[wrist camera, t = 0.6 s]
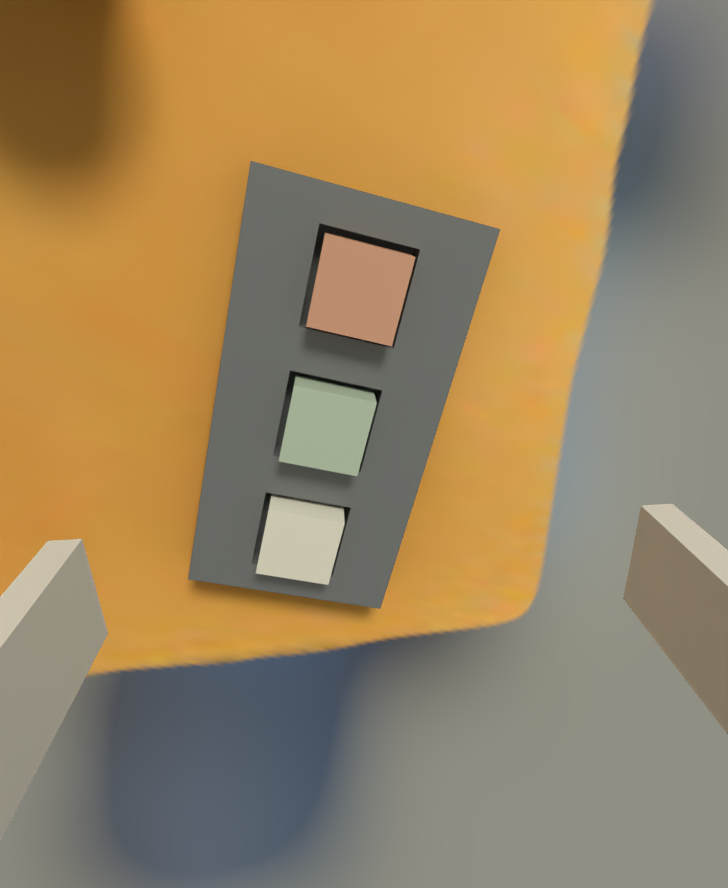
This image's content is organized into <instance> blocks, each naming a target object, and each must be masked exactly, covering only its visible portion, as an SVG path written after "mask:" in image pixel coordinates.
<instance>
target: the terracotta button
mask: <svg viewBox="0 0 728 888" xmlns="http://www.w3.org/2000/svg"><path fill="white" fill-rule="evenodd" d="M415 258H416V257H414V256H412V255H410V254H407V253H403V252H399V251H396V250H392V249H388V248H384V247H380V246H376V245H372V244H369V243H365V242H361V241H357V240H353V239H349V238H345V237H342V236H338V235H334V234H330V233H326V232H325V235H324V239H323V244H322V249H321V254H320V259H319V264H318V269H317V274H316V279H315V284H314V288H313V293H312V298H311V303H310V308H309V313H308V318H307V324H306V327H310V328H315V329H319V330H323V331H328V332H332V333H336V334H341V335H345V336H349V337H354V338H358V339H362V340H367V341H371V342H375V343H380V344H384V345H388V346H392V344H393V340H394V336H395V333H396V329H397V325H398V321H399V318H400V314H401V310H402V306H403V303H404V299H405V295H406V291H407V288H408V284H409V280H410V276H411V273H412V269H413V265H414V261H415Z"/></svg>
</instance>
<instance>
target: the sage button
mask: <svg viewBox="0 0 728 888" xmlns="http://www.w3.org/2000/svg"><path fill="white" fill-rule="evenodd" d="M376 404H377V402H376V398H375V395H374V392H373V391H368V390H363V389H359V388H354V387H349V386H345V385H340V384H336V383H331V382H326V381H322V380H317V379H313V378H308V377H303V376H299V375H296V377H295V382H294V387H293V391H292V396H291V401H290V406H289V411H288V416H287V421H286V426H285V431H284V436H283V440H282V445H281V451H280V456H279V462H285V463H290V464H295V465H300V466H305V467H311V468H316V469H321V470H326V471H332V472H337V473H342V474H347V475H353V476H357V475H358V472H359V468H360V464H361V460H362V457H363V453H364V449H365V445H366V442H367V438H368V434H369V430H370V427H371V423H372V419H373V415H374V412H375V408H376Z"/></svg>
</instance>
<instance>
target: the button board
mask: <svg viewBox="0 0 728 888" xmlns="http://www.w3.org/2000/svg"><path fill="white" fill-rule="evenodd" d="M499 231H500V229H497V228H494V227H490V226H486V225H483V224H479V223H475V222H472V221H468V220H465V219H461V218H457V217H454V216H450V215H446V214H443V213H439V212H435V211H432V210H428V209H424V208H421V207H417V206H413V205H410V204H406V203H402V202H399V201H395V200H392V199H388V198H384V197H381V196H377V195H373V194H370V193H366V192H362V191H359V190H355V189H351V188H348V187H344V186H340V185H337V184H333V183H330V182H326V181H322V180H319V179H315V178H311V177H308V176H304V175H300V174H297V173H293V172H289V171H286V170H282V169H278V168H275V167H271V166H267V165H264V164H260V163H257V162H253V161H251V163H250V169H249V176H248V183H247V189H246V196H245V203H244V210H243V216H242V223H241V230H240V236H239V243H238V250H237V256H236V263H235V270H234V276H233V283H232V290H231V297H230V303H229V310H228V317H227V323H226V330H225V337H224V343H223V350H222V357H221V363H220V370H219V377H218V383H217V390H216V397H215V404H214V410H213V417H212V424H211V430H210V437H209V444H208V450H207V457H206V464H205V470H204V477H203V484H202V491H201V497H200V504H199V511H198V517H197V524H196V531H195V537H194V544H193V551H192V557H191V564H190V571H189V578H188V579H190V580H196V581H203V582H209V583H216V584H222V585H229V586H235V587H242V588H249V589H255V590H262V591H268V592H275V593H281V594H288V595H294V596H301V597H307V598H314V599H320V600H327V601H333V602H340V603H346V604H353V605H359V606H366V607H372V608H379V609H380V608H381V605H382V602H383V598H384V595H385V592H386V589H387V586H388V583H389V579H390V576H391V573H392V570H393V567H394V564H395V560H396V557H397V554H398V551H399V548H400V545H401V541H402V538H403V535H404V532H405V529H406V526H407V522H408V519H409V516H410V513H411V510H412V507H413V503H414V500H415V497H416V494H417V491H418V488H419V484H420V481H421V478H422V475H423V472H424V469H425V465H426V462H427V459H428V456H429V453H430V450H431V446H432V443H433V440H434V437H435V434H436V431H437V427H438V424H439V421H440V418H441V415H442V412H443V408H444V405H445V402H446V399H447V396H448V393H449V389H450V386H451V383H452V380H453V377H454V374H455V370H456V367H457V364H458V361H459V358H460V355H461V351H462V348H463V345H464V342H465V339H466V336H467V332H468V329H469V326H470V323H471V320H472V317H473V313H474V310H475V307H476V304H477V301H478V298H479V294H480V291H481V288H482V285H483V282H484V279H485V275H486V272H487V269H488V266H489V263H490V260H491V256H492V253H493V250H494V247H495V244H496V241H497V237H498V234H499ZM325 232H326V233H330V234H334V235H338V236H342V237H345V238H349V239H353V240H357V241H361V242H365V243H369V244H372V245H376V246H380V247H384V248H388V249H392V250H396V251H399V252H403V253H407V254H410V255H412V256H414V257H416V258H415V261H414V265H413V269H412V273H411V276H410V280H409V284H408V288H407V291H406V295H405V299H404V303H403V306H402V310H401V314H400V318H399V321H398V325H397V329H396V333H395V336H394V340H393V344H392V346H388V345H384V344H380V343H375V342H371V341H367V340H362V339H358V338H354V337H349V336H345V335H341V334H336V333H332V332H328V331H323V330H319V329H315V328H310V327H306V324H307V318H308V313H309V308H310V303H311V298H312V293H313V288H314V284H315V279H316V274H317V269H318V264H319V259H320V254H321V249H322V244H323V239H324V235H325ZM296 375H299V376H303V377H308V378H313V379H317V380H322V381H326V382H331V383H336V384H340V385H345V386H349V387H354V388H359V389H363V390H368V391H373V392H374V395H375V398H376V402H377V404H376V408H375V412H374V415H373V419H372V423H371V427H370V430H369V434H368V438H367V442H366V445H365V449H364V453H363V457H362V460H361V464H360V468H359V472H358V475H357V476H353V475H347V474H342V473H337V472H332V471H326V470H321V469H316V468H311V467H305V466H300V465H295V464H290V463H285V462H279V456H280V451H281V445H282V440H283V436H284V431H285V426H286V421H287V416H288V411H289V406H290V401H291V396H292V391H293V387H294V382H295V377H296ZM271 494H276V495H282V496H287V497H293V498H299V499H304V500H310V501H315V502H321V503H326V504H332V505H337V506H343V507H344V520H345V524H344V528H343V532H342V535H341V539H340V543H339V547H338V550H337V554H336V558H335V562H334V565H333V569H332V573H331V577H330V580H329V584H328V585H326V584H319V583H313V582H307V581H301V580H294V579H288V578H282V577H275V576H269V575H263V574H256V569H257V564H258V558H259V553H260V548H261V543H262V538H263V534H264V529H265V524H266V519H267V514H268V509H269V504H270V499H271Z"/></svg>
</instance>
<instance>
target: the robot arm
mask: <svg viewBox="0 0 728 888" xmlns="http://www.w3.org/2000/svg"><path fill="white" fill-rule="evenodd" d="M623 599H624V600H625V601H626V603H627V604H628V605H629V607H630V608H631V609H632V611H633V612H634V613H635V615H636V616H637V617H638V618H639V620H640V621H641V622H642V624H643V625H644V626H645V627H646V629H647V630H648V631H649V633H650V634H651V635H652V637H653V638H654V639H655V640H656V642H657V643H658V644H659V646H660V647H661V648H662V650H663V651H664V652H665V653H666V655H667V656H668V657H669V659H670V660H671V661H672V663H673V664H674V665H675V666H676V668H677V669H678V670H679V672H680V673H681V674H682V676H683V677H684V678H685V679H686V681H687V682H688V683H689V685H690V686H691V687H692V688H693V690H694V691H695V692H696V694H697V695H698V696H699V698H700V699H701V700H702V701H703V702H704V704H705V705H706V707H707V708H708V709H709V710H710V712H711V713H712V714H713V716H714V717H715V718H716V720H717V721H718V722H719V724H720V725H721V726H722V727H723V729H724V730H725V731H726V733H727V734H728V550H726V549H725V548H724V547H723V546H722V545H721V544H719V543H718V542H717V541H716V540H714V539H713V538H712V537H711V536H710V535H709V534H707V533H706V532H705V531H704V530H703V529H702V528H700V527H699V526H698V525H697V524H696V523H694V522H693V521H692V520H691V519H690V518H688V517H687V516H686V515H685V514H684V513H682V512H681V511H680V510H679V509H678V508H677V507H675V506H674V505H673V504H662V505H644V506H641V510H640V514H639V520H638V525H637V530H636V536H635V541H634V546H633V551H632V556H631V561H630V567H629V572H628V577H627V582H626V587H625V593H624V598H623ZM107 634H108V632H107V628H106V624H105V621H104V617H103V613H102V610H101V606H100V603H99V599H98V595H97V592H96V588H95V584H94V581H93V577H92V573H91V570H90V566H89V562H88V559H87V555H86V551H85V548H84V544H83V540H82V539H74V540H57V541H47V543H46V544H45V545H44V546H43V547H42V549H41V550H40V551H39V552H38V553H37V554H36V556H35V557H34V558H33V559H32V560H31V561H30V563H29V564H28V565H27V566H26V567H25V569H24V570H23V571H22V572H21V573H20V574H19V576H18V577H17V578H16V579H15V580H14V581H13V583H12V584H11V585H10V586H9V587H8V588H7V590H6V591H5V592H4V593H3V594H2V596H1V597H0V840H1V838H2V836H3V834H4V832H5V830H6V828H7V826H8V825H9V823H10V821H11V819H12V817H13V815H14V813H15V811H16V809H17V807H18V805H19V804H20V802H21V800H22V798H23V796H24V794H25V792H26V790H27V788H28V786H29V784H30V782H31V780H32V778H33V777H34V775H35V773H36V771H37V769H38V767H39V765H40V763H41V761H42V759H43V757H44V755H45V754H46V752H47V749H48V748H49V746H50V744H51V742H52V740H53V738H54V736H55V734H56V732H57V730H58V729H59V726H60V725H61V723H62V721H63V719H64V717H65V715H66V713H67V711H68V709H69V707H70V706H71V704H72V702H73V700H74V698H75V696H76V694H77V692H78V690H79V688H80V686H81V684H82V682H83V681H84V679H85V677H86V675H87V673H88V671H89V669H90V667H91V665H92V663H93V661H94V659H95V657H96V656H97V654H98V652H99V650H100V648H101V646H102V644H103V642H104V640H105V638H106V636H107Z"/></svg>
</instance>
